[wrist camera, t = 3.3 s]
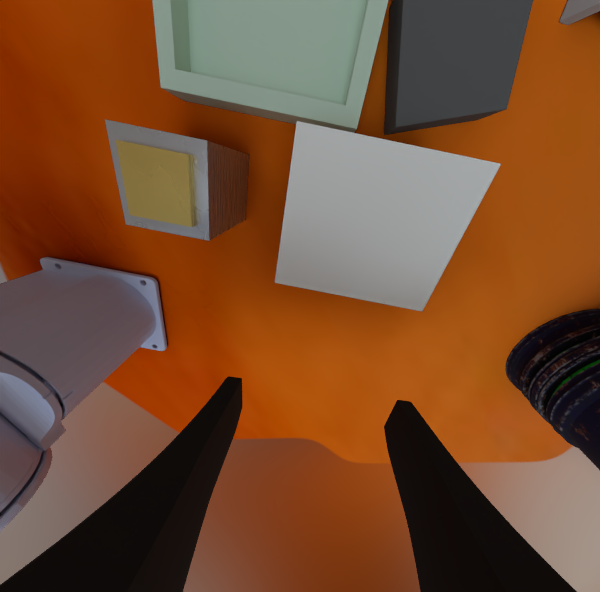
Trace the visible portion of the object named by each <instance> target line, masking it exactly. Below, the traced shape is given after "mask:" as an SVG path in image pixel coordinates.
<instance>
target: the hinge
mask: <svg viewBox="0 0 600 592" xmlns="http://www.w3.org/2000/svg"><path fill="white" fill-rule="evenodd" d="M599 11H600V0H568V2H567V4H566V6H565V9H564V11H563V14H562V16H561V19H560V21H559V22H560V23H562V24H566V25H569V24H572V23H574V22H576V21H578V20H581V19H583V18H585V17H587V16H590V15H592V14H594V13H597V12H599Z"/></svg>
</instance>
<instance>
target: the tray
mask: <svg viewBox="0 0 600 592" xmlns="http://www.w3.org/2000/svg"><path fill="white" fill-rule="evenodd" d="M152 1H153V11H154V22H155V32H156V43H157V53H158V64H159V74H160V85H161V88H162V89H164V90H166V91H168V92H169V93H171V94H173V95H175V96H176V97H178V98H180V99H182V100H183V101H188V102H192V103H197V104H202V105H207V106H211V107H216V108H221V109H226V110H230V111H235V112H240V113H245V114H250V115H254V116H259V117H264V118H269V119H273V120H278V121H283V122H288V123H292V124H296V123H297V121H300V122H304V123H309V124H314V125H319V126H323V127H328V128H333V129H338V130H342V131H347V132H352V133H354V132H355V131H356V129H357V126H358V122H359V118H360V114H361V110H362V106H363V102H364V98H365V94H366V90H367V86H368V82H369V78H370V73H371V69H372V65H373V61H374V57H375V53H376V49H377V45H378V41H379V37H380V33H381V29H382V25H383V20H384V16H385V12H386V8H387V4H388V0H152Z"/></svg>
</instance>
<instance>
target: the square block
mask: <svg viewBox="0 0 600 592" xmlns="http://www.w3.org/2000/svg"><path fill="white" fill-rule="evenodd" d="M532 2H533V0H393V1H392V4H391V6H390V8H389V30H388V53H387V77H386V100H385V123H384V135H387V134H393V133H399V132H406V131H412V130H418V129H424V128H431V127H437V126H443V125H449V124H455V123H462V122H468V121H474V120H478V119H481V118H484V117H486V116H489V115H492V114H494V113H497V112H500V111H503V110H505V109H507V105H508V101H509V97H510V93H511V89H512V85H513V81H514V77H515V72H516V68H517V64H518V60H519V56H520V52H521V48H522V44H523V39H524V35H525V31H526V27H527V23H528V19H529V15H530V11H531V6H532Z"/></svg>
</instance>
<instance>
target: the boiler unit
mask: <svg viewBox="0 0 600 592" xmlns="http://www.w3.org/2000/svg"><path fill="white" fill-rule="evenodd" d="M500 165H501V164H499V163H495V162H490V161H485V160H480V159H475V158H471V157H466V156H461V155H456V154H452V153H447V152H442V151H437V150H433V149H428V148H423V147H418V146H414V145H409V144H404V143H399V142H395V141H390V140H385V139H380V138H376V137H371V136H366V135H361V134H357V133H352V132H347V131H342V130H338V129H333V128H328V127H323V126H319V125H314V124H309V123H304V122H300V121H297V123H296V130H295V138H294V145H293V152H292V160H291V167H290V174H289V182H288V189H287V196H286V204H285V211H284V218H283V225H282V233H281V240H280V247H279V255H278V262H277V269H276V277H275V283H279V284H284V285H289V286H294V287H299V288H304V289H310V290H315V291H320V292H325V293H330V294H335V295H340V296H346V297H351V298H356V299H361V300H366V301H371V302H376V303H382V304H387V305H392V306H397V307H402V308H407V309H412V310H417V311H423V309H424V307H425V305H426V303H427V301H428V300H429V298H430V296H431V294H432V292H433V290H434V288H435V286H436V285H437V283H438V281H439V279H440V277H441V275H442V273H443V271H444V270H445V268H446V266H447V264H448V262H449V260H450V258H451V257H452V255H453V253H454V251H455V249H456V247H457V245H458V243H459V242H460V240H461V238H462V236H463V234H464V232H465V230H466V228H467V227H468V225H469V223H470V221H471V219H472V217H473V215H474V213H475V212H476V210H477V208H478V206H479V204H480V202H481V200H482V199H483V197H484V195H485V193H486V191H487V189H488V187H489V185H490V184H491V182H492V180H493V178H494V176H495V174H496V172H497V170H498V169H499V167H500Z"/></svg>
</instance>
